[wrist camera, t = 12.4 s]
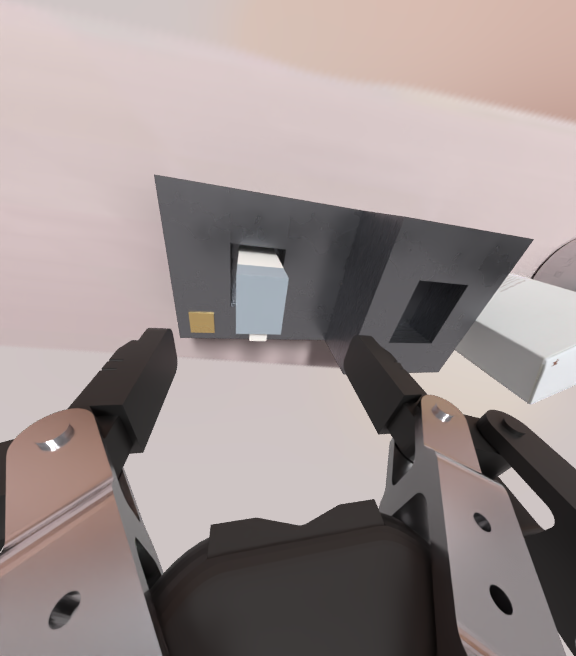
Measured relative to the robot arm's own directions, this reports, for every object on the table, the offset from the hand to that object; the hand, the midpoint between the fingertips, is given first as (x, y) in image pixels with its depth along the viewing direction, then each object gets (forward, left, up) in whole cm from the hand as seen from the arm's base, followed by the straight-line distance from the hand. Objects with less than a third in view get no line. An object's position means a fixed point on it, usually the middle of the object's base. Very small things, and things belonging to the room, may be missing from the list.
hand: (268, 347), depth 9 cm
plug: (0, 0, -12) cm, 12 cm away
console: (-5, -2, -13) cm, 14 cm away
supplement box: (-25, -7, -13) cm, 29 cm away
